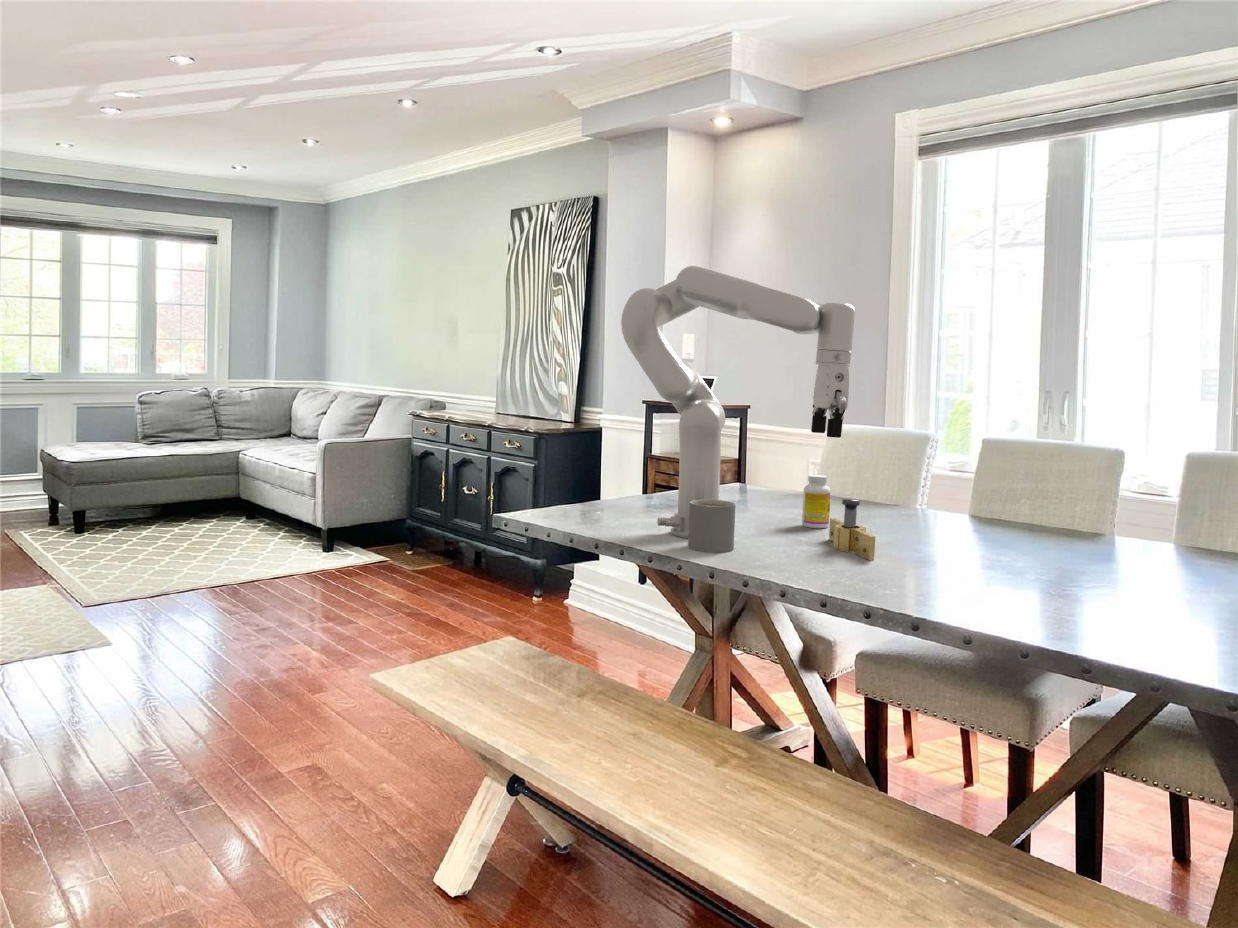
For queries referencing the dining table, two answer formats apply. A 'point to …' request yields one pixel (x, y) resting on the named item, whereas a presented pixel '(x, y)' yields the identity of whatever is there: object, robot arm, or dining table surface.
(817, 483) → the supplement bottle
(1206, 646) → the dining table surface
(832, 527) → the wooden hinge leaf
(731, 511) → the coffee mug
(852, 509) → the hinge pin
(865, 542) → the hinge base
